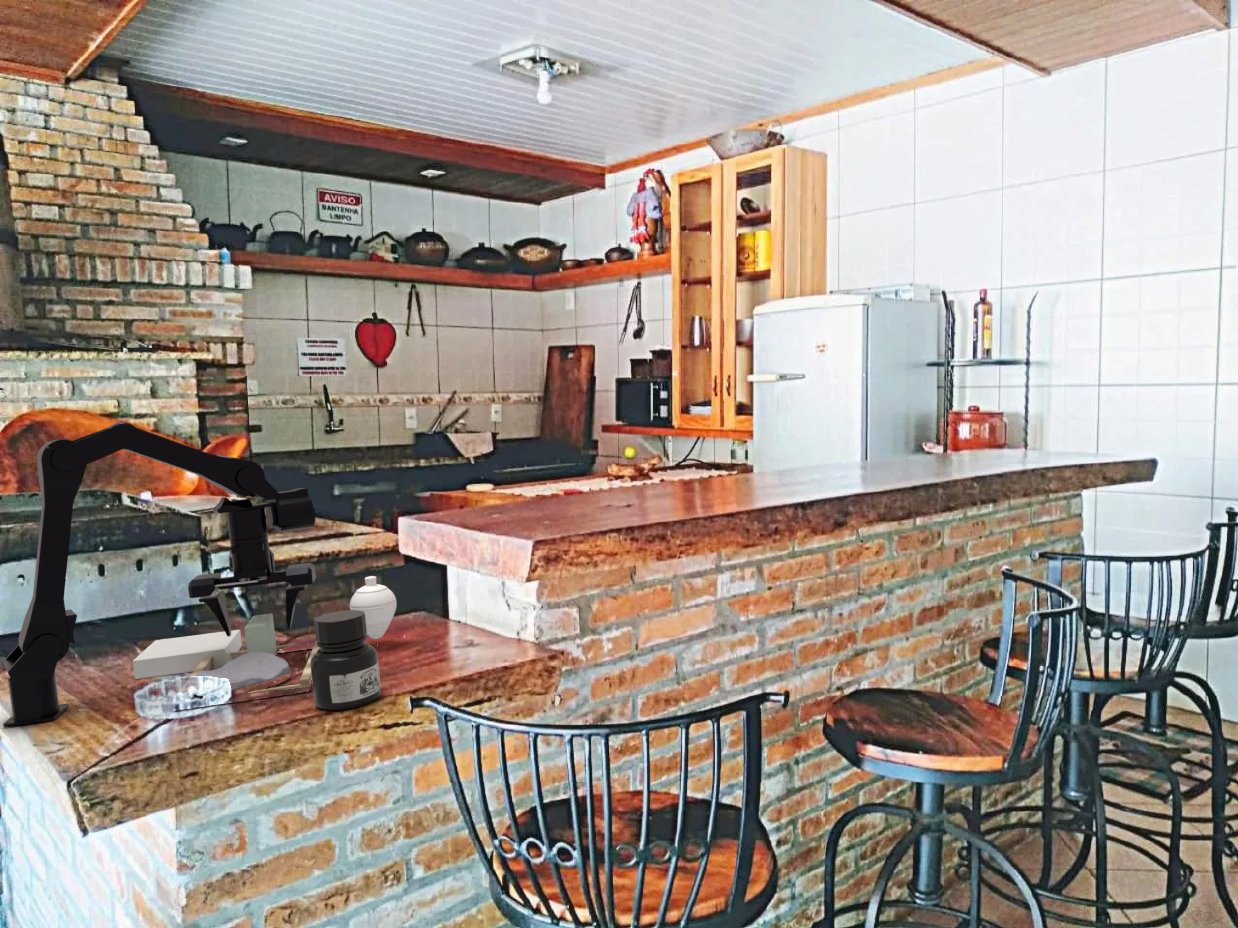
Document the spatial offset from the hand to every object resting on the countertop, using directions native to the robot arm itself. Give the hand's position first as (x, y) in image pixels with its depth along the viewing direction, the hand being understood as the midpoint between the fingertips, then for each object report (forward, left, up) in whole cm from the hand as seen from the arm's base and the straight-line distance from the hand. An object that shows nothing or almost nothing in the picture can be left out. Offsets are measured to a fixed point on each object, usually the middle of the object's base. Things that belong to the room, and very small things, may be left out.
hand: (259, 632), depth 153 cm
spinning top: (+2, -18, -6) cm, 19 cm away
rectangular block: (0, 0, -6) cm, 6 cm away
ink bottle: (-27, -15, -6) cm, 31 cm away
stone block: (-12, +1, -6) cm, 14 cm away
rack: (-6, 0, -6) cm, 9 cm away
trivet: (+9, +13, -6) cm, 17 cm away
